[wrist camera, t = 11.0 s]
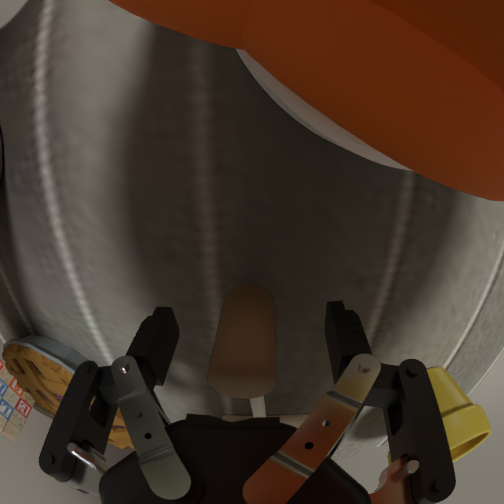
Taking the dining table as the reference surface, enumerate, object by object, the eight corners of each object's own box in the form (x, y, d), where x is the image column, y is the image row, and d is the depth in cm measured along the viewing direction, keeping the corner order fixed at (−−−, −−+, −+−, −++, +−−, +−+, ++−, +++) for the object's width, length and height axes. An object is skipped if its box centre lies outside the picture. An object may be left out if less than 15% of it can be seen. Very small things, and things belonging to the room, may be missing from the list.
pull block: (190, 286, 14) (153, 382, 9) (305, 281, 14) (322, 383, 8) (243, 449, 26) (239, 494, 20) (295, 448, 25) (295, 494, 20)
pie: (186, 432, 29) (180, 464, 24) (84, 419, 33) (75, 441, 29) (72, 311, 19) (44, 350, 15) (-3, 328, 24) (-20, 350, 19)
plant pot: (454, 336, 18) (496, 421, 10) (463, 376, 22) (490, 440, 13) (360, 392, 22) (377, 482, 13) (391, 417, 25) (405, 484, 17)
